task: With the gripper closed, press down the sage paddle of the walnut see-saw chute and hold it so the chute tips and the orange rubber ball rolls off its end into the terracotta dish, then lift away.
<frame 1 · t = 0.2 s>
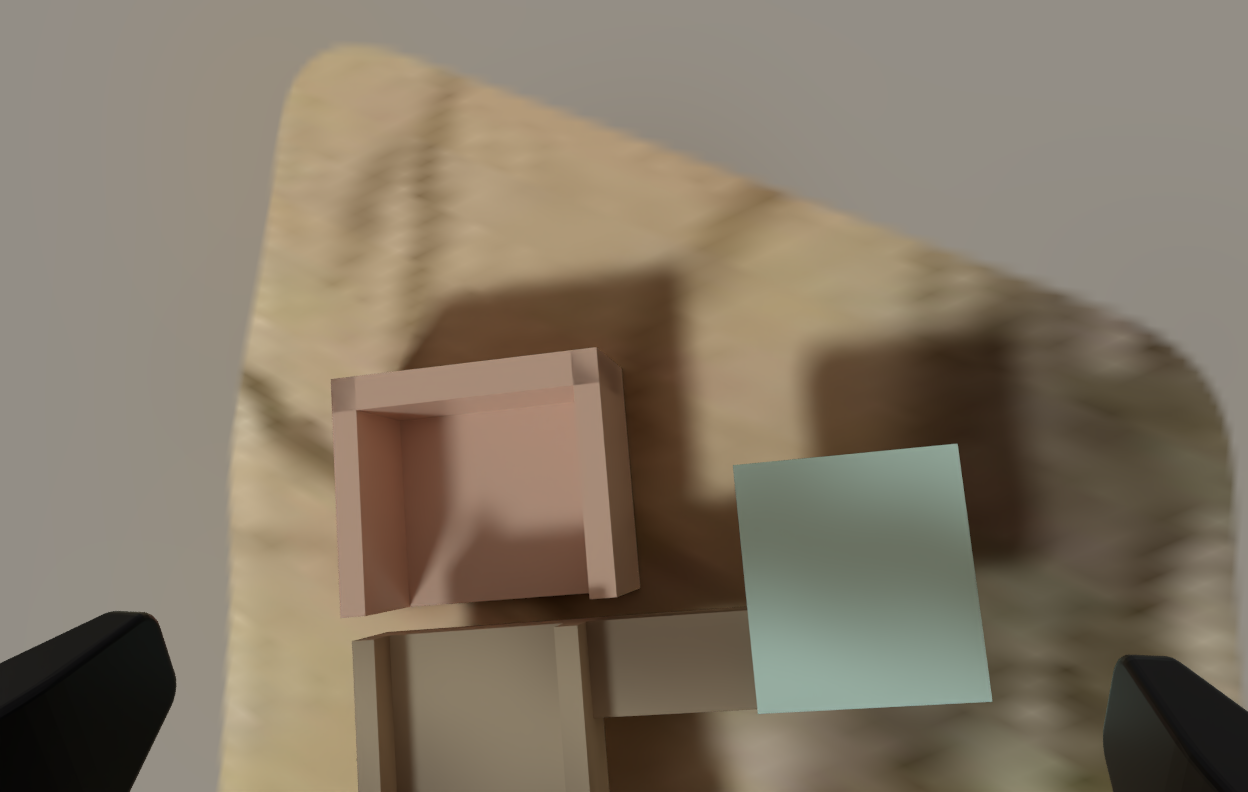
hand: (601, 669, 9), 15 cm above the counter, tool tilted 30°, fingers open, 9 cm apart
dish: (507, 488, 25), on the counter
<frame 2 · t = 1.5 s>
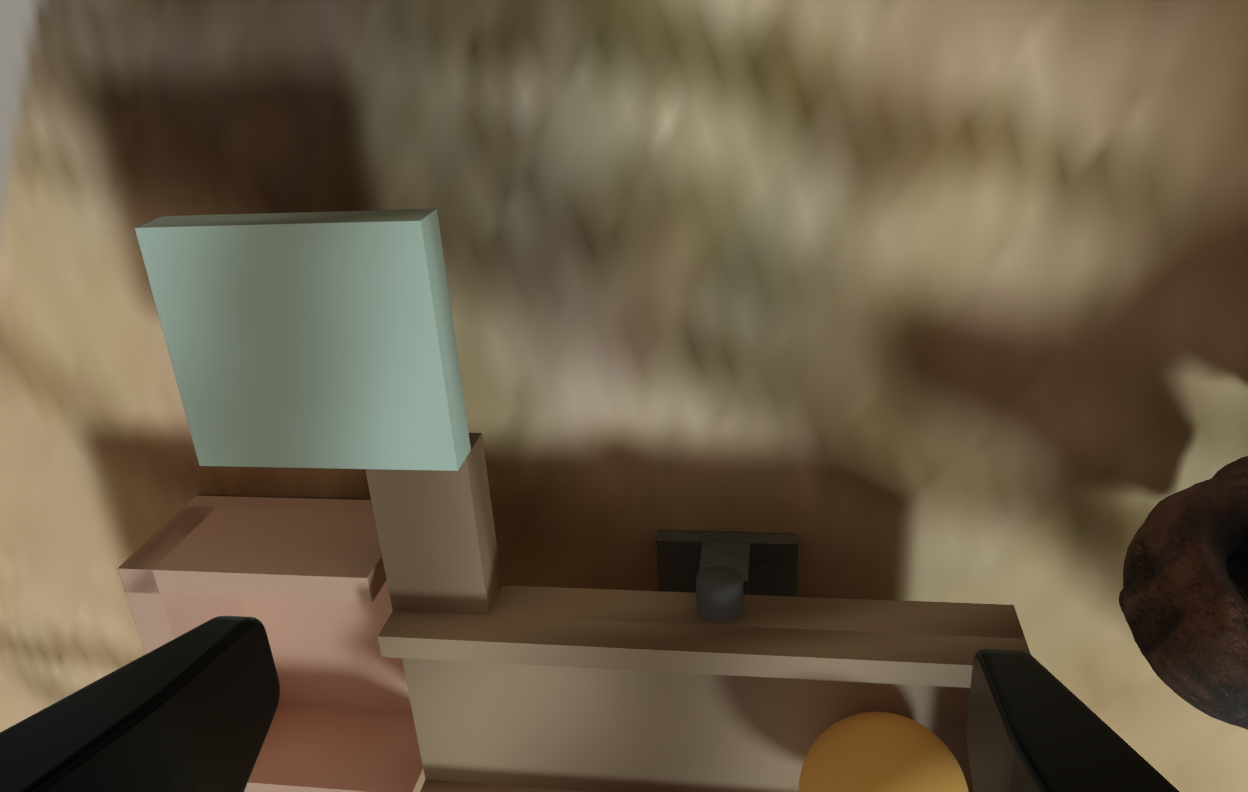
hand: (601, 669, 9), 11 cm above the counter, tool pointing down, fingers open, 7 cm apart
dish: (330, 611, 24), on the counter
fulcrum: (729, 629, 22), on the counter
lever: (609, 573, 18), point 3 cm above the counter, hinge at 0.0°, touching ball
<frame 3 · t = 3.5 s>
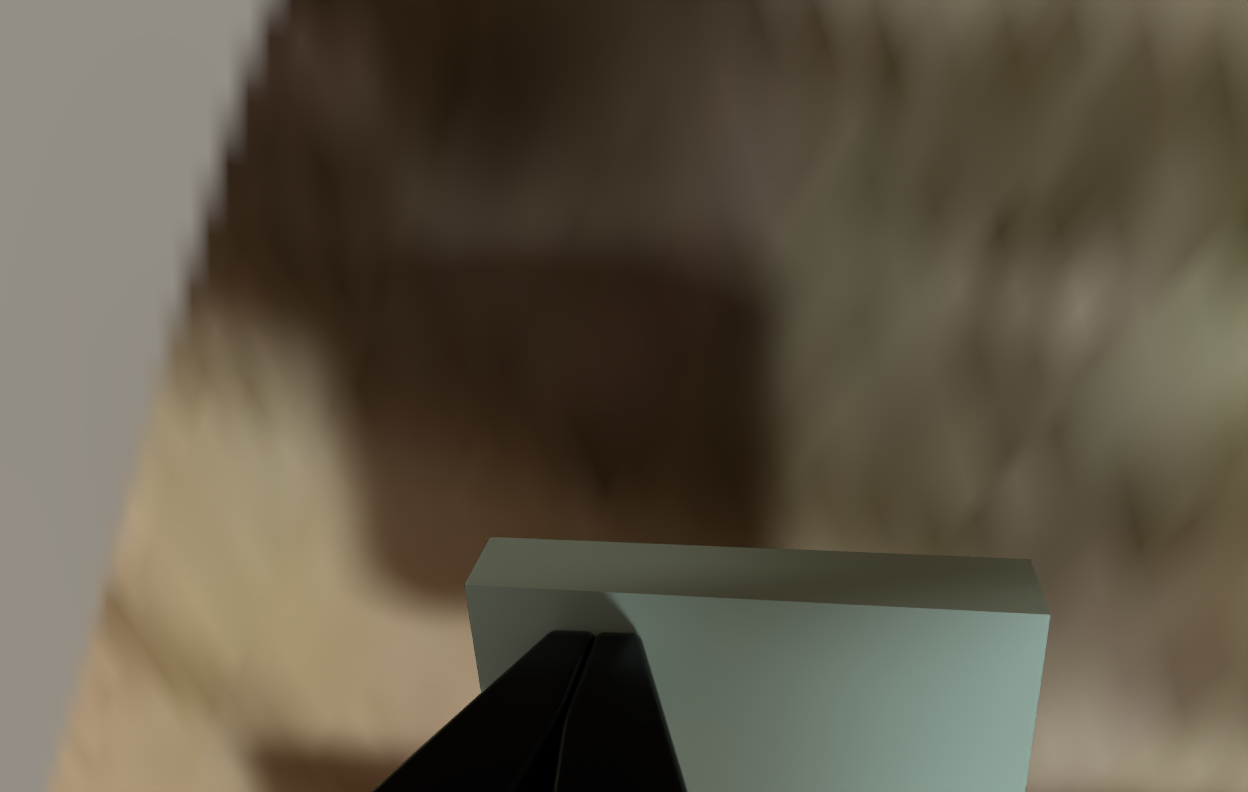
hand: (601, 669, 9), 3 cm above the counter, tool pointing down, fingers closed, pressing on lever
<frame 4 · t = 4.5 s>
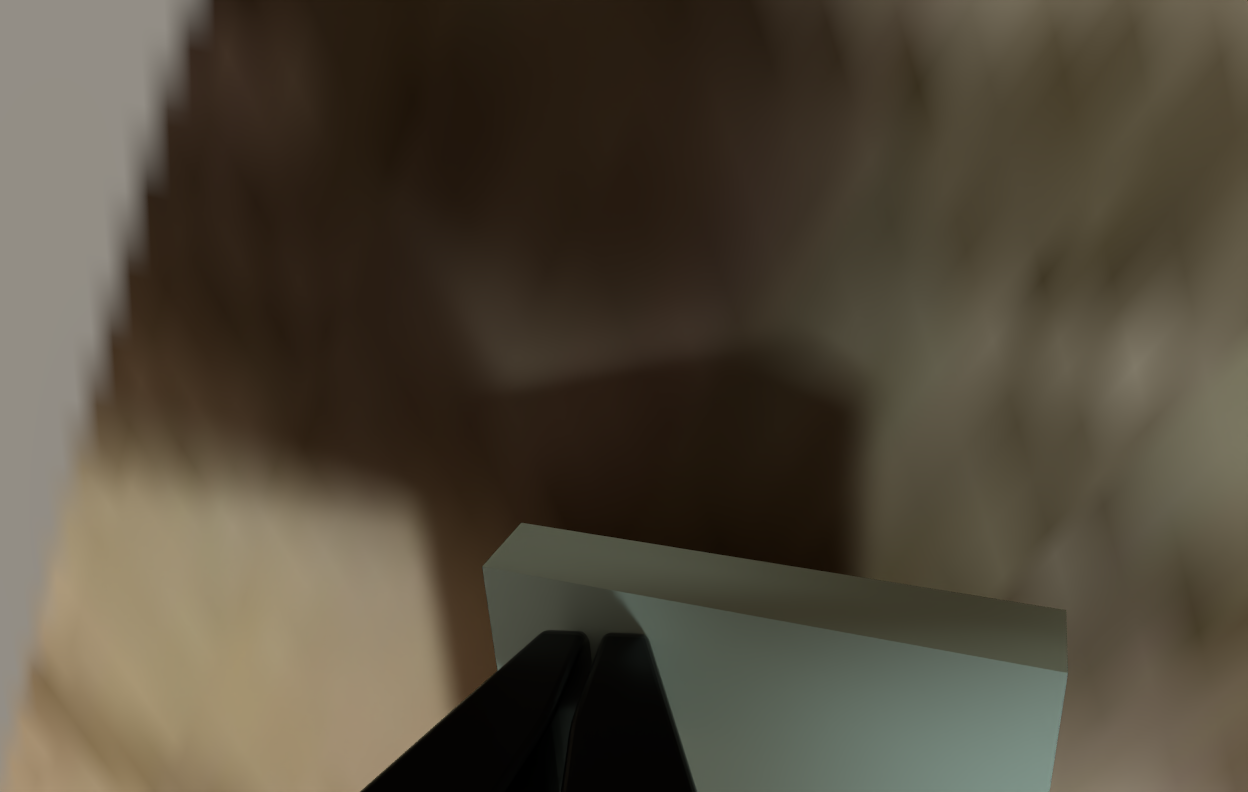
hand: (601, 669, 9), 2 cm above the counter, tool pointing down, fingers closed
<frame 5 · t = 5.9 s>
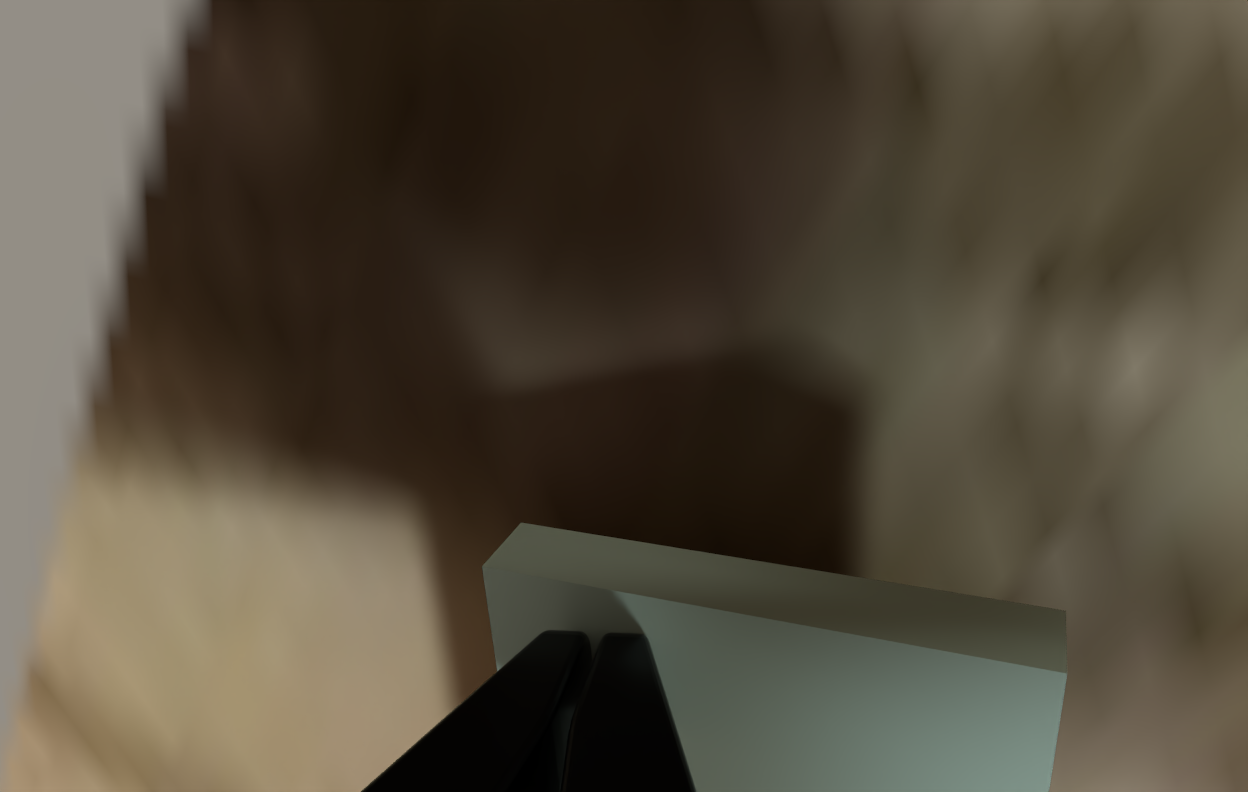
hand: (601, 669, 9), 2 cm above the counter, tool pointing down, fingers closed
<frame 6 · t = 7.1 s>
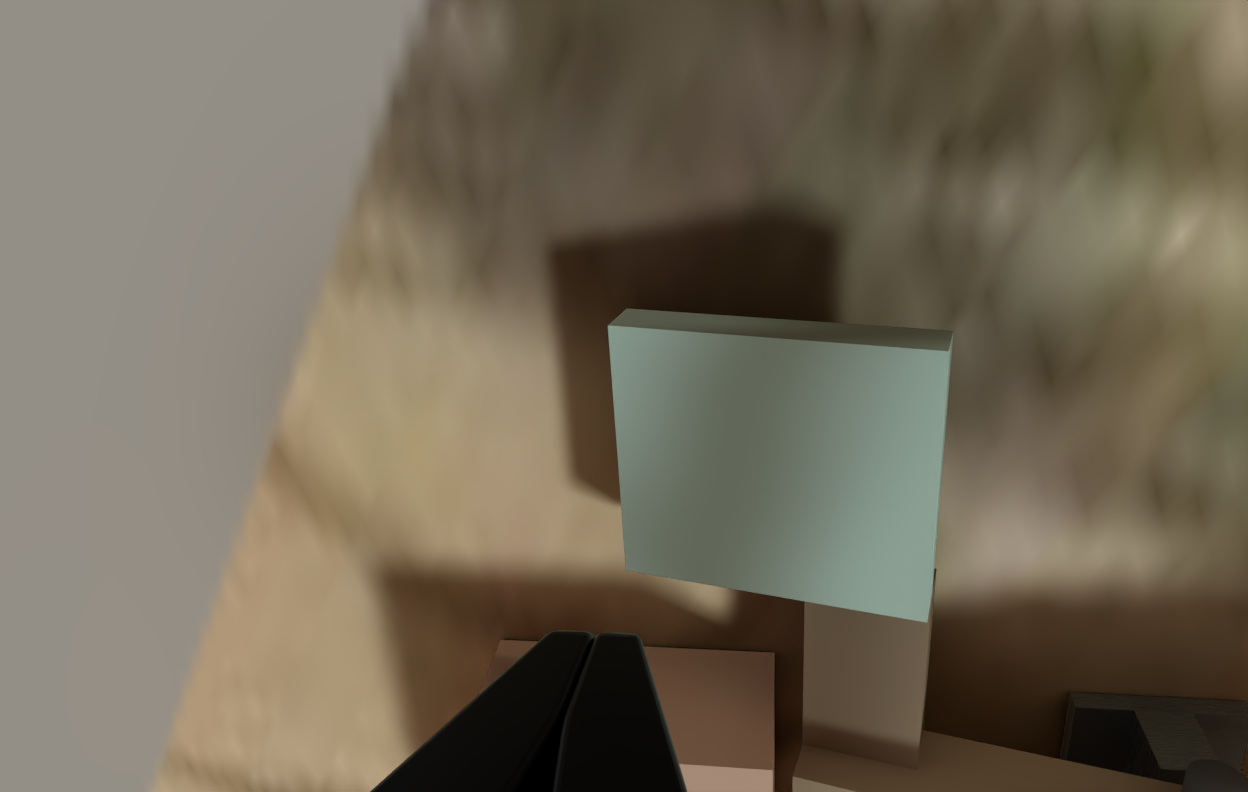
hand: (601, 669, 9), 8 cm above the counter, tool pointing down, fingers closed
dish: (643, 767, 21), on the counter
lever: (1084, 757, 15), point 3 cm above the counter, hinge at 12.9°
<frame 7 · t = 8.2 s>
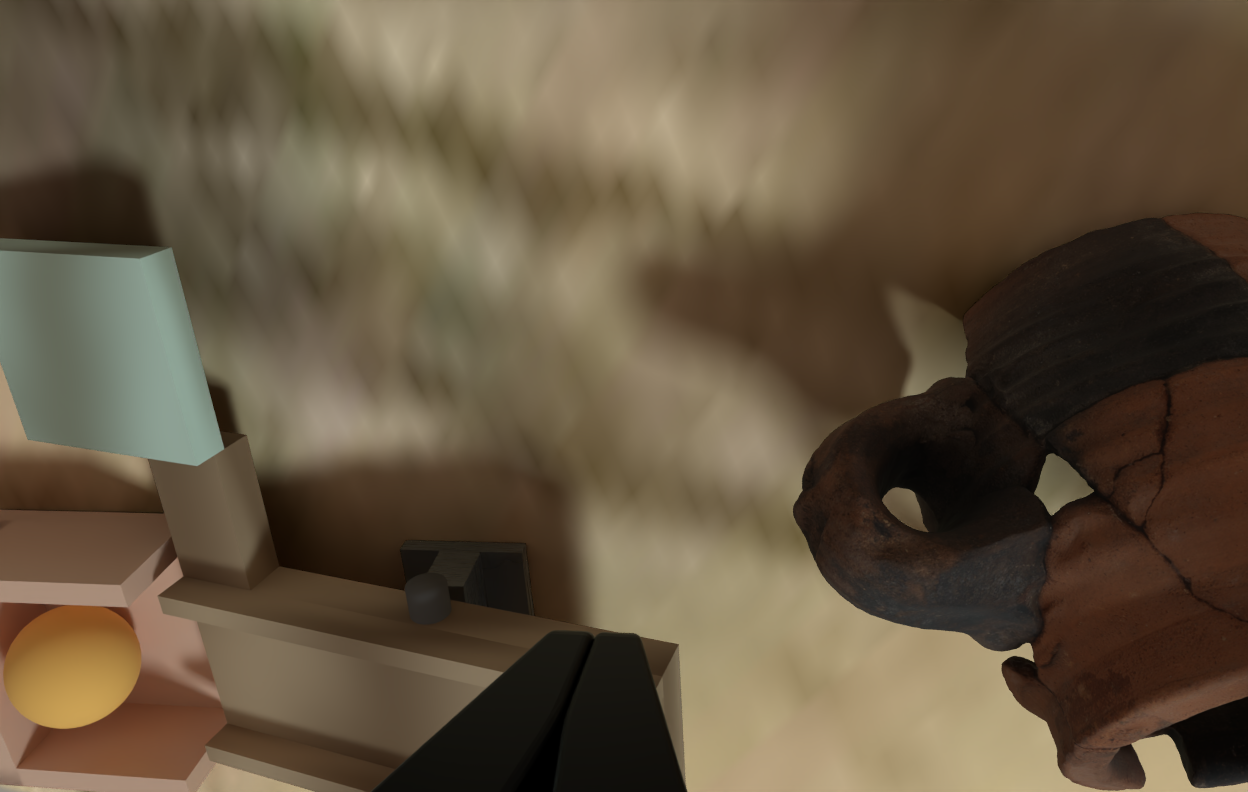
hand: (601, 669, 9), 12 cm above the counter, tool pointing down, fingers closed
dish: (129, 614, 26), on the counter
fulcrum: (478, 629, 24), on the counter
lever: (327, 568, 21), point 3 cm above the counter, hinge at 12.9°
ball: (74, 665, 24), point 2 cm above the counter, tilted 150°, touching dish
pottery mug: (1079, 435, 20), on the counter
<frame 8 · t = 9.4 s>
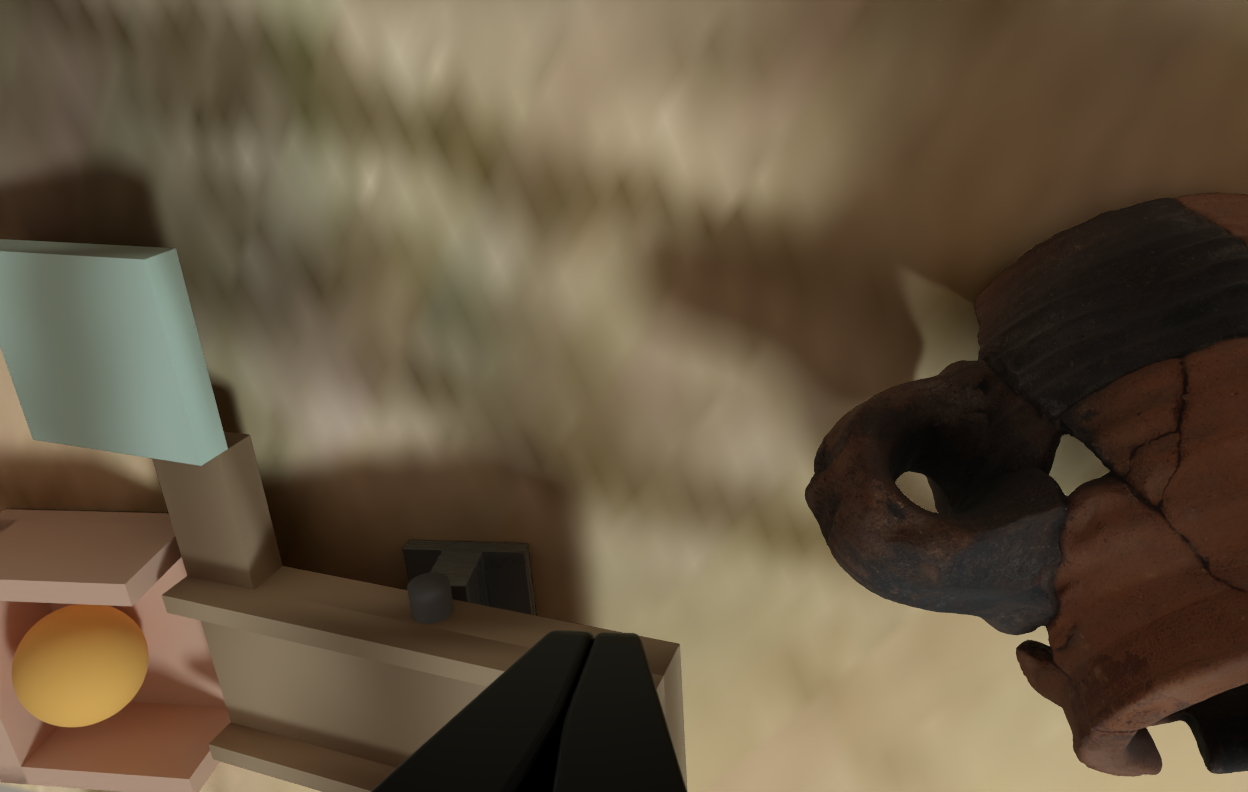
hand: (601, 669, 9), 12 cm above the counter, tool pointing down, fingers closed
dish: (133, 614, 26), on the counter
fulcrum: (480, 629, 24), on the counter
lever: (330, 567, 21), point 3 cm above the counter, hinge at 12.9°
ball: (82, 664, 24), point 2 cm above the counter, tilted 146°, touching dish
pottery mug: (1092, 420, 20), on the counter
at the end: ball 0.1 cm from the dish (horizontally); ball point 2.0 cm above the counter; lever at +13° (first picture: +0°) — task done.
